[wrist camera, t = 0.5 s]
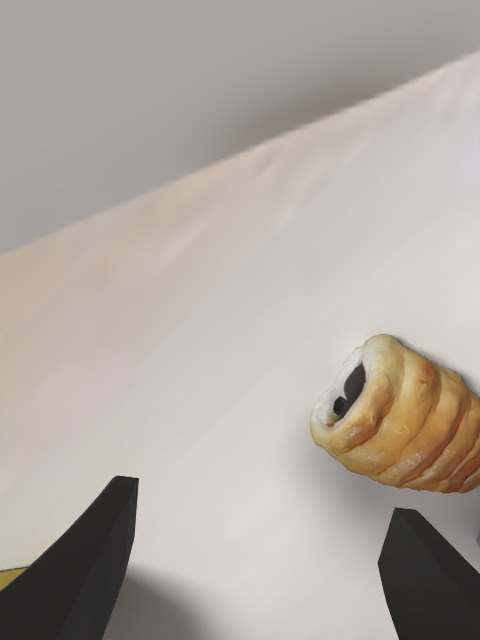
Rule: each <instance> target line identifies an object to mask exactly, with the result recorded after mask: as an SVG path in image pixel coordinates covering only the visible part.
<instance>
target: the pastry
mask: <svg viewBox="0 0 480 640" xmlns="http://www.w3.org/2000/svg"><path fill="white" fill-rule="evenodd" d="M310 428H311V434H312V438H313V440H314V442H315V444H316V445H318V446H320V447H322V448H324V449H325V450H326V451H327V452H328V453H329V455H330V456H332V457H334V458H335V459H336V460H338V461H339V462H341V463H342V464H343V465H344V466H345V467H346V468H347V469H348V470H350V471H351V472H354V473H357V474H361V475H364V476H368V477H370V478H371V479H373V480H375V481H378V482H380V483H382V484H384V485H390V486H394V487H397V488H410V489H414V490H418V491H420V490H427V491H431V492H441V493H452V492H459V493H465V492H468V491H470V490H473V489H474V488H475V487H477V486H478V485H479V484H480V399H479V398H478V397H477V396H476V395H474V394H473V393H472V392H470V391H469V390H468V389H467V387H466V385H465V383H464V382H463V380H462V378H461V376H460V375H459V374H457V373H456V372H454V371H452V370H450V369H444V368H440V367H439V366H437V365H436V364H434V363H433V362H431V361H428V360H426V359H424V358H423V357H421V356H420V355H418V354H417V353H416V352H414V351H412V350H410V349H409V348H406V347H404V346H403V345H401V344H399V343H398V341H397V340H396V339H395V338H394V337H393V336H390V335H385V334H379V335H376V336H373V337H371V338H370V339H368V340H366V341H365V343H364V344H363V345H362V346H360V347H357V348H356V349H355V350H354V351H353V352H352V353H351V355H350V356H349V357H348V358H347V359H346V361H345V362H344V365H343V367H342V369H341V370H340V372H339V373H338V376H337V378H336V380H335V383H334V385H333V386H332V387H331V388H330V389H329V390H327V391H326V392H325V393H324V394H323V395H322V396H321V397H320V398H319V400H318V401H317V403H316V405H315V406H314V407H313V410H312V414H311V420H310Z"/></svg>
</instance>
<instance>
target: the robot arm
mask: <svg viewBox="0 0 480 640" xmlns="http://www.w3.org/2000/svg"><path fill="white" fill-rule="evenodd" d="M138 483H139V478H133V477H125V476H115V477H114V478H113V479H112V480H111V481H110V482H109V484H108V485H107V486H106V487H105V489H104V490H103V491H102V492H101V493H100V495H99V496H98V497H97V498H96V499H95V500H94V502H93V503H92V504H91V505H90V506H89V507H88V508H87V510H86V511H85V512H84V513H83V514H82V515H81V516H80V517H79V518H78V519H77V520H76V521H75V522H74V523H73V524H72V526H71V527H70V528H69V529H68V530H67V531H66V532H65V533H64V534H63V535H62V536H61V537H60V538H59V539H58V540H57V541H56V542H55V543H54V544H52V545H51V546H50V547H49V548H48V549H47V550H46V551H45V552H44V553H43V554H42V555H41V556H40V557H39V558H38V559H37V560H36V561H35V562H33V563H32V564H31V565H30V566H29V567H28V568H27V569H26V570H24V571H23V572H22V573H21V574H20V575H19V576H17V577H16V578H15V579H14V580H13V581H11V582H10V583H9V584H8V585H6V586H5V587H4V588H3V589H2V590H0V640H102V638H103V635H104V632H105V629H106V627H107V624H108V621H109V618H110V615H111V613H112V610H113V607H114V604H115V602H116V599H117V596H118V593H119V590H120V588H121V585H122V582H123V579H124V576H125V572H126V569H127V565H128V561H129V557H130V553H131V549H132V545H133V541H134V536H135V523H136V509H137V496H138ZM378 567H379V572H380V577H381V581H382V586H383V590H384V594H385V598H386V602H387V606H388V609H389V612H390V615H391V617H392V620H393V623H394V626H395V629H396V632H397V635H398V638H399V640H480V574H479V573H478V572H477V571H476V570H475V569H474V568H473V567H472V566H471V565H470V564H469V563H468V562H467V561H466V560H465V559H464V558H463V557H462V556H461V555H460V554H459V553H458V552H457V551H456V549H455V548H454V547H453V546H452V545H451V544H450V543H449V542H448V541H447V540H446V539H445V538H444V537H443V536H442V535H441V534H440V533H439V532H438V531H437V530H436V529H435V528H434V527H433V526H432V525H431V524H430V523H429V522H428V521H427V520H426V519H425V518H424V517H423V516H422V515H421V514H420V513H419V512H418V511H417V510H413V509H404V508H395V509H394V512H393V515H392V519H391V522H390V525H389V528H388V532H387V535H386V538H385V541H384V544H383V548H382V551H381V554H380V557H379V560H378Z"/></svg>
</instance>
